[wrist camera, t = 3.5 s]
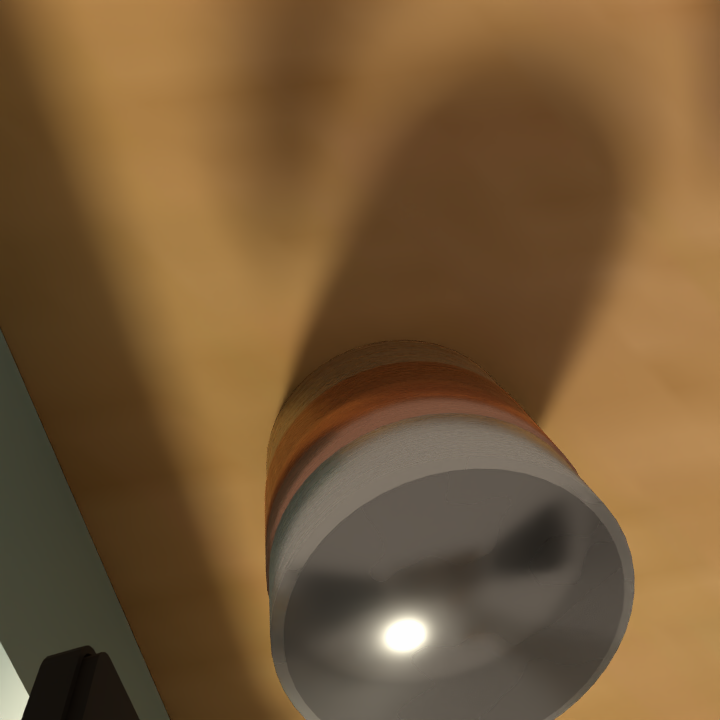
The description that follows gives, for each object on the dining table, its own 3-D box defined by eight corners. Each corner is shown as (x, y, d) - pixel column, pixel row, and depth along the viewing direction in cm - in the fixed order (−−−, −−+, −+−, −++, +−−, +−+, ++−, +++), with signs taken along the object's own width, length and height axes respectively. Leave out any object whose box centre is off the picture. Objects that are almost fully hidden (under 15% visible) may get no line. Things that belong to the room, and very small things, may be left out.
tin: (499, 308, 15) (626, 409, 10) (531, 531, 17) (648, 710, 12) (232, 375, 15) (218, 517, 10) (299, 594, 17) (318, 805, 12)
